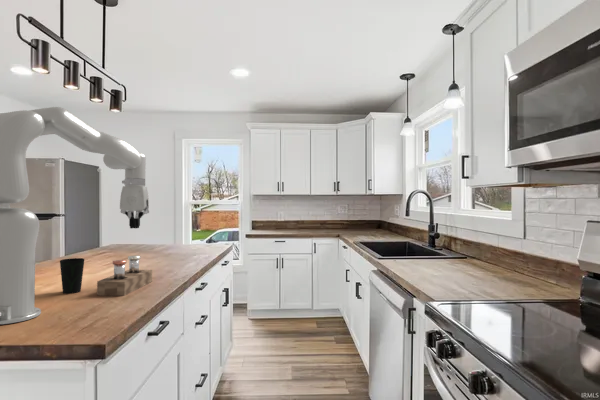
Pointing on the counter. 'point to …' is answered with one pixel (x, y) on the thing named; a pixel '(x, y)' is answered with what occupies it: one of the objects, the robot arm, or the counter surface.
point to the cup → (71, 274)
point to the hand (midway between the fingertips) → (134, 228)
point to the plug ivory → (133, 264)
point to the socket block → (124, 283)
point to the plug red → (119, 269)
